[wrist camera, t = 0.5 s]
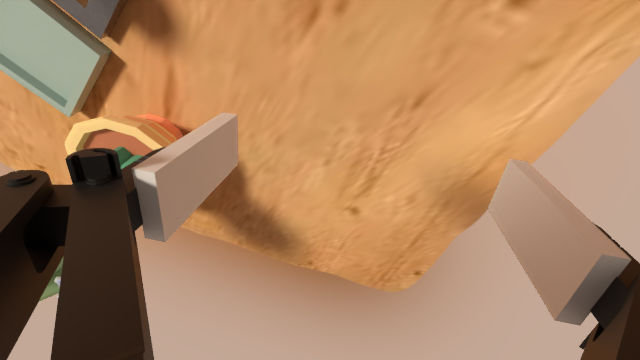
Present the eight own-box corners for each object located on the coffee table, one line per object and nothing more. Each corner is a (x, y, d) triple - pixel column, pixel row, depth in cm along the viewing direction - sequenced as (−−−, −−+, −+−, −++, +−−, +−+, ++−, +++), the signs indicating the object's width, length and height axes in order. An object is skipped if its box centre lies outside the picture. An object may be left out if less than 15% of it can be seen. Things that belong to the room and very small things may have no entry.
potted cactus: (162, 194, 53) (42, 342, 33) (84, 120, 46) (-128, 255, 26) (230, 161, 47) (133, 318, 28) (153, 71, 40) (-54, 196, 20)
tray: (-11, -48, 34) (-31, -47, 32) (111, 50, 39) (100, 56, 37) (-28, 34, 40) (-46, 38, 38) (80, 110, 45) (69, 117, 43)
